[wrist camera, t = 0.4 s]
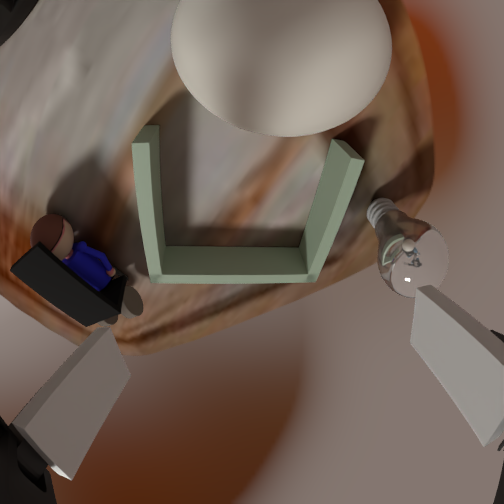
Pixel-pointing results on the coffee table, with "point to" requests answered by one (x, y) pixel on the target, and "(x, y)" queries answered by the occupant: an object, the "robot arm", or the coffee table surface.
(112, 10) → the coffee table surface
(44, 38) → the coffee table surface
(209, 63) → the ball
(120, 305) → the figurine character
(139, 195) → the green u-shaped channel
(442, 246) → the light bulb
